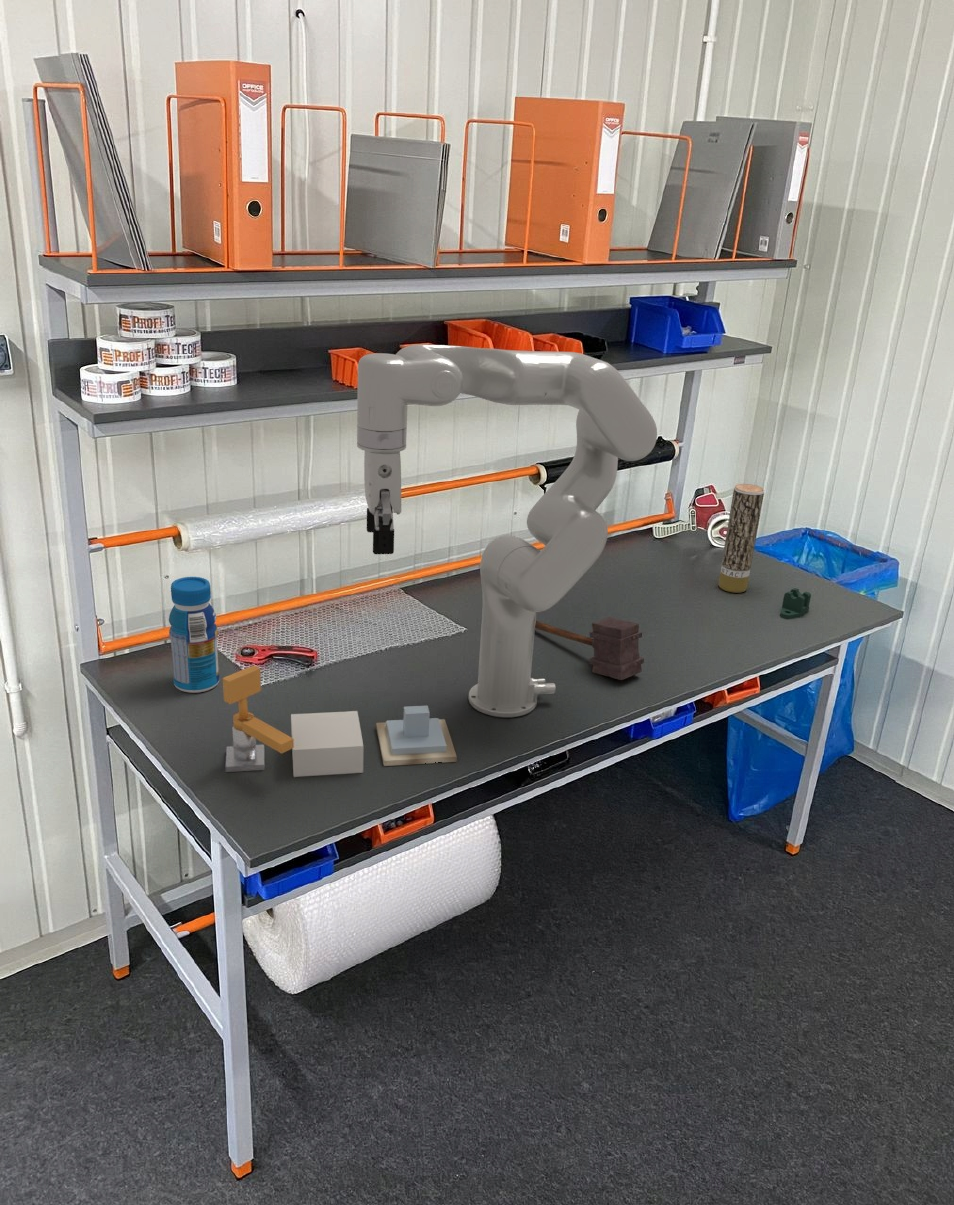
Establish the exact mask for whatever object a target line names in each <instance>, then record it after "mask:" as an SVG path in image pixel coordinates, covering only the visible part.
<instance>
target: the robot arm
mask: <svg viewBox="0 0 954 1205" xmlns="http://www.w3.org/2000/svg"><path fill="white" fill-rule="evenodd" d="M460 394H463V395H466V396H467V395H468V396H473V397H475V398H476V397H477V398H479V399H482V400H486V401H488V402H493V403H495V404H496V403H497V404H501V405H508V406H532V405H533V406H536V405H537V406H543V405H545V406H555V405H556V406H560V405H561V406H569V407H573V408H575V409H577V410H578V412H577V415H576V420H575V421H576V422H575V428H576V447H575V453H574V455H573V458H572V461H571V462H570V463H569V465H568V466H567V467H566V469H565V470H564V472H563V473H561V475H560V476H559V477H558V479H556V480H555V482H554V483H553V484H552V485H551V486H550V487H549V488H548V489H547V490H546V491H545V493H544V494H543V495H542V496H541V497H540V498H539V499H538V500H537V501H536V503H535V504H534V505H533V507H531V509H530V511H529V512H528V514H527V517H526V527H527V530H528V531H529V532H530V535H531V536H532V537H533V538H534V539H536V540H537V541H538V542H540V544H542V545H543V546H544V547H543V548H542V549H541V550H540V549H539V548H537V547H535V545H532V544H531V543H529V542H528V541H526V540H524V538H521V537H519V536H515V535H510V534H509V535H501V536H498V537H496V538H494V539H493V540H491V541H490V542H489V543H488V544H487V545H486V546H485V548H484V550H483V552H482V554H481V558H480V565H479V566H480V568H479V570H480V572H479V574H480V583H481V590H482V591H481V592H482V594H481V595H482V614H481V615H482V616H481V626H480V627H481V628H480V644H479V658H478V660H479V661H478V673H477V678H478V679H477V683H476V684H475V685H473V686H472V687H471V688H470V689H469V690H468V703H469V704H470V705H471V707H473V708H474V709H475V710H476V711H478V712H480V713H482V714H484V715H488V716H492V717H496V718H516V717H517V718H518V717H521V716H525V715H527V714H529V713H531V712H532V711H533V710H535V708H536V707H537V704H538V703H537V702H538V696H539V695H540V694H545V695H547V694H549V695H550V694H552V695H553V694H555V693H556V684H555V683H554V682H546V678H533V677H531V675H532V665H533V663H532V662H533V652H534V643H535V642H534V640H535V631H536V628H535V622H536V621H537V613H541V612H544V611H547V610H549V609H551V608H552V607H554V606H555V605H557V604H558V603H559V602H560V601H561V600H562V599H563V598H564V597H565V596H566V595H567V593H569V591H570V590H572V588H573V587H574V586H575V585H576V583H578V582H579V580H580V579H581V578H582V577H583V576H584V575H585V574H586V572H587V571H588V570H589V569H591V567H592V566H593V565H594V564H595V563H596V561H597V560H598V559H599V557H600V556H601V554H602V553H603V551H604V549H605V546H606V544H607V540H608V536H609V534H608V533H609V532H608V531H609V530H608V524H607V522H606V520H605V519H604V517H603V516H602V515H601V513H599V512H598V511H597V510H598V508H599V507H600V506H601V504H602V503H603V502H604V501H605V499H606V498H607V497H608V496H609V494H610V492H611V491H612V489H613V488H614V485H615V483H616V479H617V474H618V461H619V459H621V460H623V461H628V462H634V461H639V460H642V459H644V458H645V457H646V456H648V455H649V454H650V453H652V450H653V449H654V447H655V445H656V443H657V440H658V429H657V424H656V421H655V419H654V417H653V415H652V414H651V413H650V411H649V410H648V409H647V407H646V406H645V404H644V403H643V402H642V400H641V399H640V398H639V396H638V395H637V394H636V392H635V390H633V388H632V387H631V385H629V383H628V382H627V381H626V379H625V378H624V377H623V375H622V374H621V373H620V372H619V371H618V370H617V368H616V367H614V366H613V365H611V364H610V363H609V362H607V361H604V360H601V359H598V358H595V357H593V356H590V355H586V354H583V353H580V352H574V351H552V350H551V351H543V350H542V351H541V350H540V351H538V350H536V351H535V350H512V349H511V350H510V349H501V348H500V349H499V348H486V347H485V348H483V347H472V346H463V345H462V346H460V345H447V344H446V345H445V344H412V345H407V346H405V347H402V348H401V349H400V350H399V351H397V353H395V354H394V353H380V352H379V353H378V352H376V353H375V352H374V353H367V354H365V355H363V356H361V357H360V359H359V360H358V364H357V396H356V397H357V398H356V400H357V410H356V411H357V413H356V414H357V415H356V417H357V419H356V420H357V422H356V447H357V448H358V449H359V450H361V451H364V452H363V454H364V463H363V464H364V466H363V468H364V470H363V471H364V472H363V473H364V474H363V475H364V477H363V478H364V480H363V481H364V496H365V500H366V504H367V505H366V506H367V508H366V531H367V533H372V553H373V554H374V555H392V554H394V552H395V551H394V550H395V527H394V514H396V515H400V514H401V513H402V464H401V463H402V461H401V459H402V458H401V452H402V451H404V450H406V448H407V432H408V431H407V427H408V405H417V406H426V407H427V406H428V407H443V406H445V405H448V404H450V403H452V402H454V401H455V400H456V399H457V398H458V397H459V396H460Z"/></svg>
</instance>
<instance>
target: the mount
mask: <svg viewBox="0 0 954 1205" xmlns="http://www.w3.org/2000/svg"><path fill="white" fill-rule="evenodd" d="M811 598H812V594H811V593H810V592H809V591H804V592H803V593H801V592H800V589H799V588H797V587H793V589H790V591H789V590H788V591H787V592H785V593H784V595H783V600H782V605H781V609H780V613H779V617H780V618H781V619H783V620H784V619H785V620H793V619H798V618H801V617H803V616H804V615H806V614H807V613H808V612H809V609H810V602H811Z"/></svg>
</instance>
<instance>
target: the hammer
mask: <svg viewBox="0 0 954 1205" xmlns="http://www.w3.org/2000/svg"><path fill="white" fill-rule="evenodd" d="M591 628H592V631H591V632H589V637H588V636H585V635H582V634H579V633H576V632H575V633H574V632H572V631H568V630H565V629H564V628H563V629H562V628H560V627H556V626H553V625H549V624H546V623H543V622H541V621H538V620H536V622H535V630H539V631H543V632H546V633H549V634H553V635H555V636H557V637H558V636H559V637H562V638H564V639H569V640H571V641H575V642H577V643H581V644H585V645H587V646H591V647H592V648H593V657H591V658H589V661H588V662H589V664H590V665H592V669H591V671H592V673H594V674H596V675H599V676H600V675H601V676H605V677H610V678H611V679H614V680H615V679H616V680H619V681H623V680H625V679H628V678H631V677H634V676H635V675H638V674H640V673H641V672H643V670H642V664H644V663H645V658H644V657H640V649H639V639H640V638H642V637H643V632H642V631H640V630H639V628H640V624H639V623H637V622H633V621H628V620H623V619H619V618H614V617H610V616H609V617H605V618H603V619H602V620H598V621H595V622H592V623H591Z"/></svg>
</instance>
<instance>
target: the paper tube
mask: <svg viewBox="0 0 954 1205" xmlns="http://www.w3.org/2000/svg"><path fill="white" fill-rule="evenodd" d="M764 496H765V489H764V488H763V487H762V486H759V485H757V484H756V485H755V484H751V483H738V484H737V483H736V484H735V485H734V487H733V492H732V498H731V505H730V510H729V515H728V523H727V529H726V535H725V541H724V548H723V552H722V559H721V565H720V572H719V576H718V577H719V579H718V588H720V589H721V590H723V591H725V592H728V593H732V594H733V593H734V594H740V593H743V592H745V591H746V590H747V589H748V585H749V579H750V574H751V569H752V563H753V557H754V551H755V547H756V540H757V535H758V529H759V525H760V518H761V513H762V509H763V508H762V507H763V502H764Z"/></svg>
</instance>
